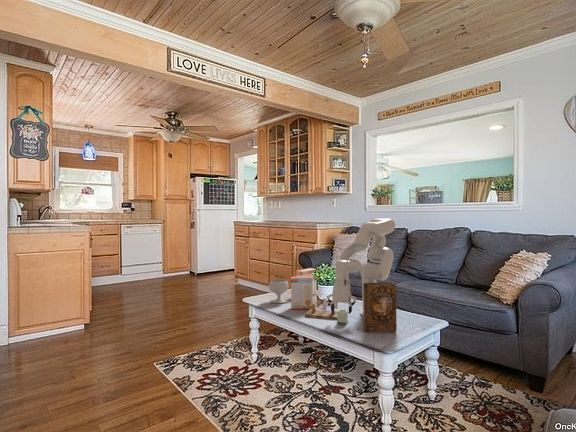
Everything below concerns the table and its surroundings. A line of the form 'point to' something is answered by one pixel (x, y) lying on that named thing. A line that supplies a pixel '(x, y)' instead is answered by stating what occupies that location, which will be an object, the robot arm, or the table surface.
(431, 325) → the table surface
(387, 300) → the book
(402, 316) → the table surface
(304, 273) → the coffeecake box
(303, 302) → the cracker box
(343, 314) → the sleeve
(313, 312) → the pin board
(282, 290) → the chalice
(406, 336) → the table surface
